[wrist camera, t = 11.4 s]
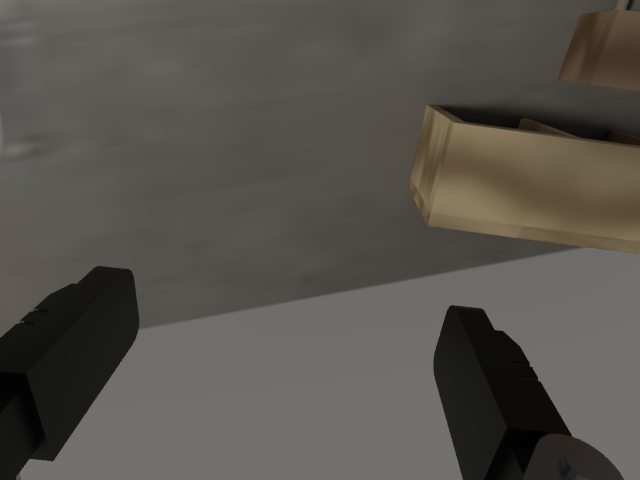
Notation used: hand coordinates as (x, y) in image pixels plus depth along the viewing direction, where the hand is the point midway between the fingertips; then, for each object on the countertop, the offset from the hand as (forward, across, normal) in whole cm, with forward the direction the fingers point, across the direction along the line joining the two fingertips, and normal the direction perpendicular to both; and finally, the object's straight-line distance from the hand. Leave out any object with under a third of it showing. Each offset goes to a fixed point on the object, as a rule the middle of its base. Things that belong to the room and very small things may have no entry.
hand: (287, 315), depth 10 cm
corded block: (+29, -22, -12) cm, 38 cm away
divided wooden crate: (+28, -17, +2) cm, 33 cm away
